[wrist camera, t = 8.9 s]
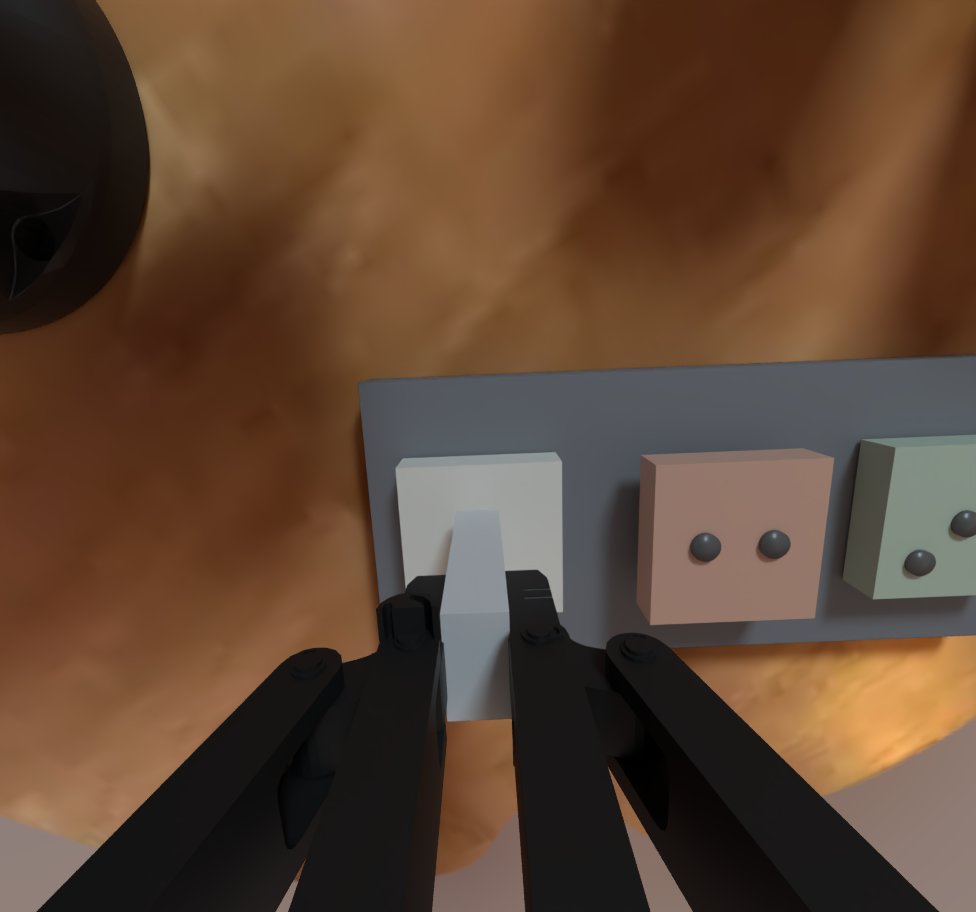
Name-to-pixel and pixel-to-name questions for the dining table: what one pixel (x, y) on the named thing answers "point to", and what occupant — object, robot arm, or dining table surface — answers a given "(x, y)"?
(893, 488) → the key three
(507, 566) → the key one
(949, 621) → the keypad board
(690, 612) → the key two
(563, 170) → the dining table surface
